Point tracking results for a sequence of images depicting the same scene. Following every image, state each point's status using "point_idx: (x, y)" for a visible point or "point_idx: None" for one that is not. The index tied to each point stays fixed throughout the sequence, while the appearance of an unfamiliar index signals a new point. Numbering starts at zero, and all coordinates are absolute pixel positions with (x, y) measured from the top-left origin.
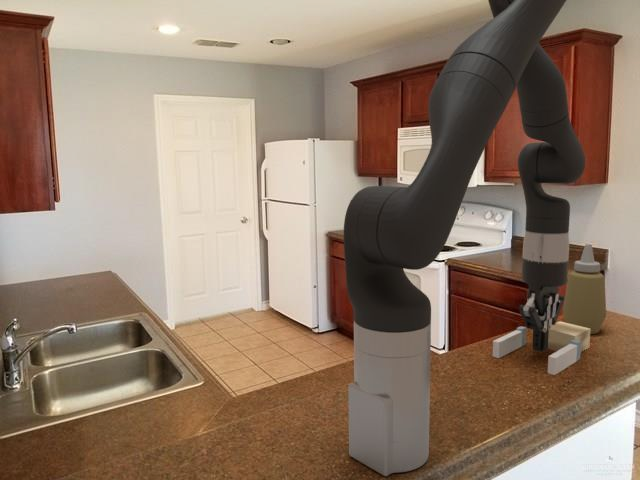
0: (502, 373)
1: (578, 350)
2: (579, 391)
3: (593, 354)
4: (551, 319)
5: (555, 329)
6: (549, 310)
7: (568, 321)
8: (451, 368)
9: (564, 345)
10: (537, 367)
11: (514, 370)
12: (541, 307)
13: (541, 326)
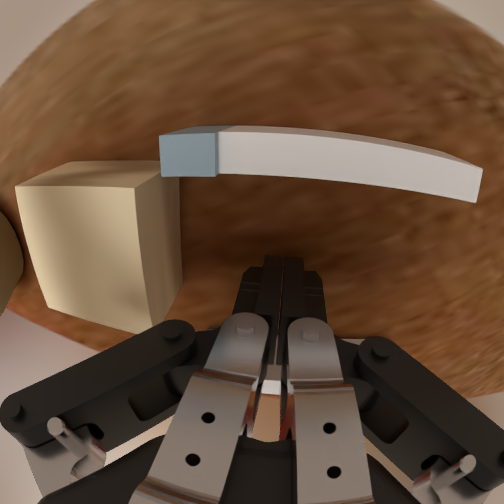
0: (484, 285)
1: (205, 129)
2: (496, 60)
3: (109, 117)
4: (217, 365)
5: (128, 296)
6: (318, 457)
7: (11, 284)
8: (480, 363)
9: (166, 215)
10: (405, 225)
11: (458, 271)
12: (401, 494)
13: (378, 360)
